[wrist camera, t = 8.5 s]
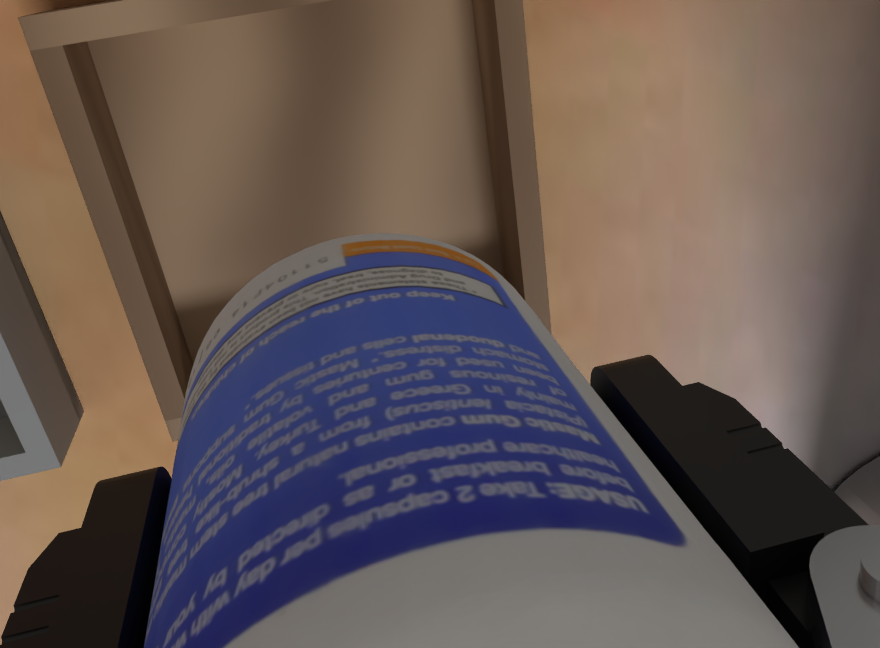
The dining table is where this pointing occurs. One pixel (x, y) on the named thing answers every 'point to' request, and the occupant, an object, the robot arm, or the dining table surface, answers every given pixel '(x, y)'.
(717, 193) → the dining table surface
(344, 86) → the tray right
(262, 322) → the pill bottle
